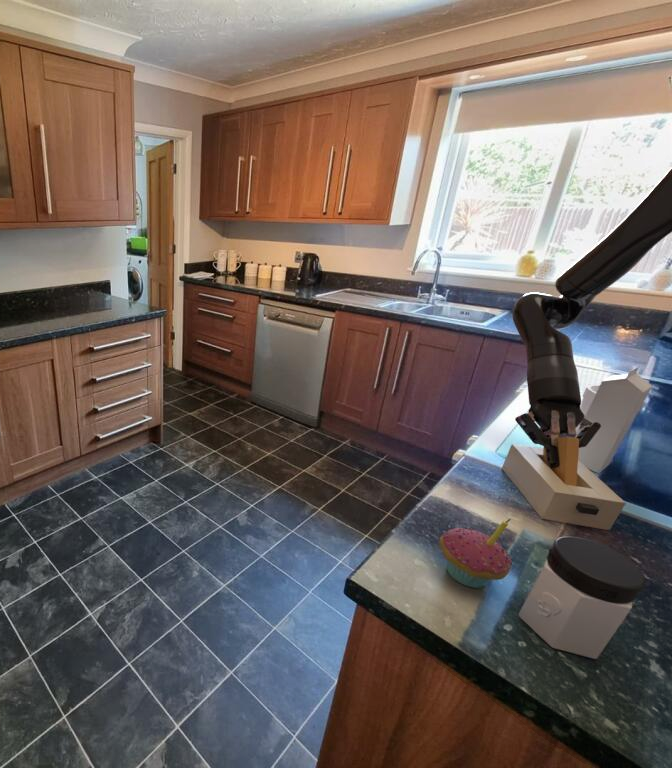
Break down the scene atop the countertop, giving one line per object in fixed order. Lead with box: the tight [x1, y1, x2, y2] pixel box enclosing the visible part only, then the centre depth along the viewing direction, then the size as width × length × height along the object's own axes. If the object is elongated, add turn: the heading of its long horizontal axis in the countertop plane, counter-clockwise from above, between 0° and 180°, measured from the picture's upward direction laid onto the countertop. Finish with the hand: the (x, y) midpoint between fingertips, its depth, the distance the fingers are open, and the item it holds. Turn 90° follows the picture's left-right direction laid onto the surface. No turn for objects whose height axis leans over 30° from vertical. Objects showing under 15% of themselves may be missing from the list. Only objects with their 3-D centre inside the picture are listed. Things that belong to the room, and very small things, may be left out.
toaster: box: [501, 443, 626, 531], centre depth 79 cm, size 17×10×6 cm, turn 165°
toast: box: [543, 437, 579, 486], centre depth 80 cm, size 2×6×9 cm, turn 165°
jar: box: [517, 535, 646, 660], centre depth 54 cm, size 9×8×12 cm
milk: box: [575, 365, 653, 474], centre depth 87 cm, size 6×6×22 cm
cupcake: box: [438, 518, 513, 589], centre depth 61 cm, size 9×8×12 cm
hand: (561, 468), depth 79 cm, fingers closed on toast, 1 cm apart
